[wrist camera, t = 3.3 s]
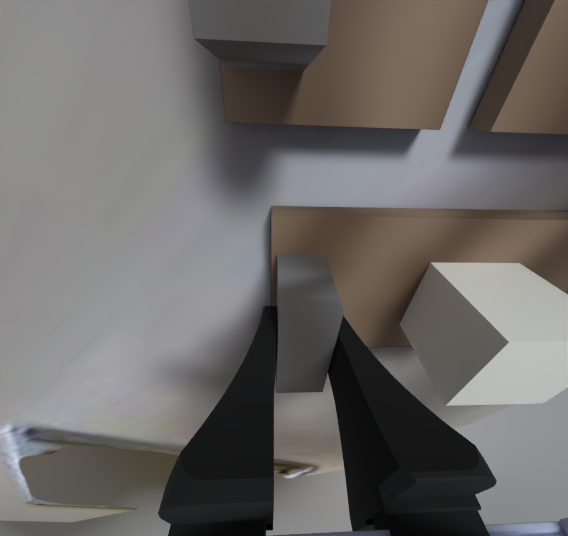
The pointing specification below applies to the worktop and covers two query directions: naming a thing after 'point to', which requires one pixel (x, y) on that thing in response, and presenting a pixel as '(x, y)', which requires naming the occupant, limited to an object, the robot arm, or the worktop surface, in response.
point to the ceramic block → (489, 333)
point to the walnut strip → (384, 271)
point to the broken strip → (382, 62)
